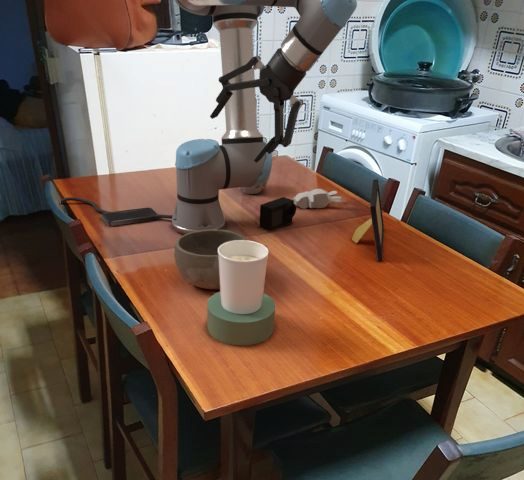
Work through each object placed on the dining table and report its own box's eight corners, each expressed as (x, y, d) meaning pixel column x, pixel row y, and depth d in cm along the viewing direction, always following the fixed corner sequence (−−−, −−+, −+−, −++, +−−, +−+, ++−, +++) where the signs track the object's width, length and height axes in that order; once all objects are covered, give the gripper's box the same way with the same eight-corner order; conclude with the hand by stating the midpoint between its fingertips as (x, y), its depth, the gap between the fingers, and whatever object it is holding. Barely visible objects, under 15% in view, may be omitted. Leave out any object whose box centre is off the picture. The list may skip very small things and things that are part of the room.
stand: (195, 334, 112) (194, 311, 109) (225, 304, 122) (225, 282, 119) (258, 352, 108) (259, 329, 104) (283, 319, 118) (285, 297, 115)
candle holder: (271, 298, 115) (275, 245, 108) (255, 320, 107) (258, 265, 100) (228, 289, 117) (229, 236, 110) (209, 310, 109) (209, 255, 102)
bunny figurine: (291, 189, 178) (335, 183, 180) (291, 204, 181) (335, 198, 183) (298, 199, 170) (344, 193, 172) (298, 215, 173) (344, 208, 175)
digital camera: (272, 233, 157) (274, 209, 153) (258, 227, 160) (260, 204, 156) (295, 224, 164) (297, 201, 160) (281, 218, 167) (283, 196, 163)
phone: (158, 216, 160) (107, 222, 154) (159, 219, 161) (108, 226, 155) (150, 207, 166) (100, 213, 160) (150, 210, 167) (101, 216, 160)
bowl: (181, 262, 139) (180, 224, 133) (251, 266, 139) (252, 229, 133) (169, 295, 125) (167, 254, 119) (247, 299, 125) (249, 259, 119)
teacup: (275, 195, 184) (277, 171, 179) (241, 199, 179) (241, 174, 175) (258, 182, 195) (259, 159, 191) (225, 184, 191) (225, 161, 186)
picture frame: (382, 261, 145) (385, 206, 137) (348, 260, 147) (349, 206, 139) (383, 229, 164) (387, 179, 156) (353, 229, 166) (355, 179, 157)
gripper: (341, 101, 115) (280, 173, 129) (255, 12, 112) (202, 95, 125) (332, 108, 109) (269, 182, 123) (241, 14, 106) (187, 101, 120)
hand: (235, 138), depth 124 cm, fingers open, 13 cm apart
